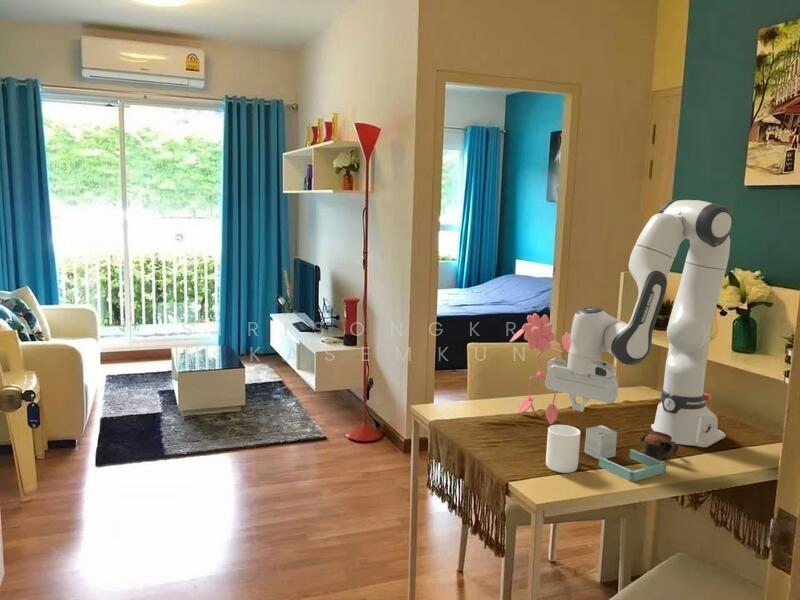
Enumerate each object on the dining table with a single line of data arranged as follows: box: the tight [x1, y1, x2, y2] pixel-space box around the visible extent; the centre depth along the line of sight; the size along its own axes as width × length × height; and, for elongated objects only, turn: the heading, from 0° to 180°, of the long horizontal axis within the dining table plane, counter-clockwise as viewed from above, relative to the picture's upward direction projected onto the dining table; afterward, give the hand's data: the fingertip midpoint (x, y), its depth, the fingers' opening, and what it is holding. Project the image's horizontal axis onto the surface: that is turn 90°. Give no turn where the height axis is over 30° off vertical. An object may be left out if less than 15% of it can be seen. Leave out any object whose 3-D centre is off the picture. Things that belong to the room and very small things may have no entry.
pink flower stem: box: [509, 312, 571, 432], centre depth 204 cm, size 15×26×35 cm, turn 39°
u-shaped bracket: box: [598, 448, 667, 483], centre depth 171 cm, size 13×11×2 cm
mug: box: [545, 424, 581, 474], centre depth 172 cm, size 12×8×10 cm
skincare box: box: [584, 425, 618, 461], centre depth 180 cm, size 6×6×7 cm
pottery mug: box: [639, 430, 679, 462], centre depth 180 cm, size 12×10×8 cm
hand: (577, 410), depth 186 cm, fingers closed
